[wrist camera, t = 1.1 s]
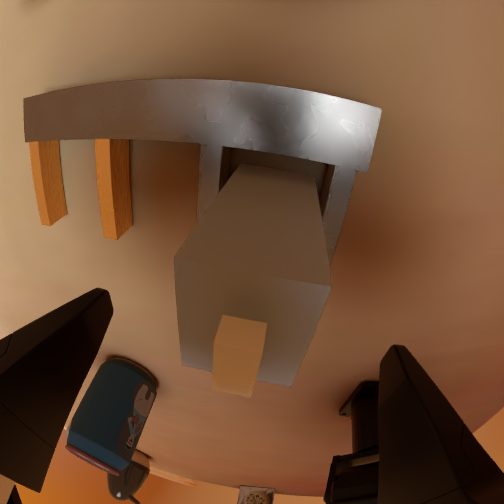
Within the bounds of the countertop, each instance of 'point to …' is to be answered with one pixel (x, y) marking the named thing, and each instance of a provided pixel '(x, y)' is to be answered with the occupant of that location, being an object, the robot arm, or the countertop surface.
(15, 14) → the countertop surface
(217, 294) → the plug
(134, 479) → the pump dispenser
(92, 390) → the soda can
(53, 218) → the grey comb shape
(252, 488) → the coffee box
